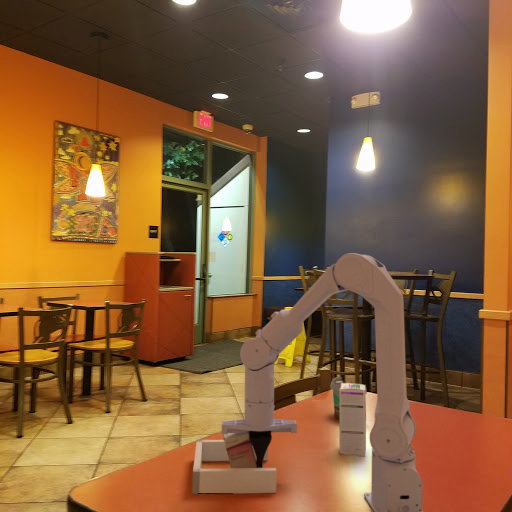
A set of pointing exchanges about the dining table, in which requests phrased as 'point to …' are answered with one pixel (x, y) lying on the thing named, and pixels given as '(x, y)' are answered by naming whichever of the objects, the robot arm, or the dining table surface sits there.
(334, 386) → the food container
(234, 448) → the small box
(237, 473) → the u-shaped bracket
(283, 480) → the dining table surface
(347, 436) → the syrup box
